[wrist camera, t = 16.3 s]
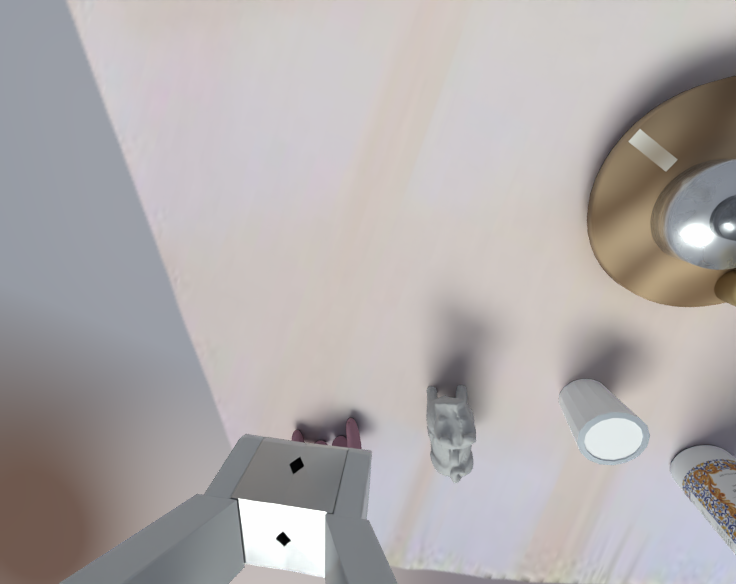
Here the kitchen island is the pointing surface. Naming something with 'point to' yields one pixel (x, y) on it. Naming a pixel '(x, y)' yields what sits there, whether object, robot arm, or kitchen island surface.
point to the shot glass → (602, 423)
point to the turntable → (645, 183)
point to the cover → (699, 215)
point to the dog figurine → (451, 433)
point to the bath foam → (710, 486)
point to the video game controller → (339, 441)
